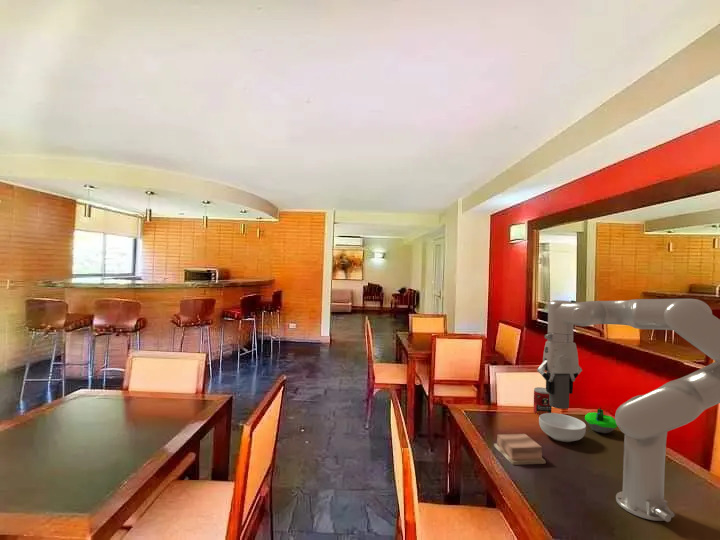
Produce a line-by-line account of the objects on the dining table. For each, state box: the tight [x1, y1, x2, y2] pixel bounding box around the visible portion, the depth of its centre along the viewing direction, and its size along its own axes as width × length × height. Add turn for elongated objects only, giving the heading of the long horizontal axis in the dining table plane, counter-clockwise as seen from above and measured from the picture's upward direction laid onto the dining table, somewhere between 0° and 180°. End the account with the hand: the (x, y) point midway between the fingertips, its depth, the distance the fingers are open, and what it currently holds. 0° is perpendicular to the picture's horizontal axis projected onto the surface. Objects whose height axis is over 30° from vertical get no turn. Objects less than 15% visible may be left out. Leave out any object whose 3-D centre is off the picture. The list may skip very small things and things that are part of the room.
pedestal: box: [493, 433, 547, 466], centre depth 142 cm, size 14×12×5 cm
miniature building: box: [584, 407, 618, 434], centre depth 164 cm, size 12×12×11 cm
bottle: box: [549, 374, 570, 410], centre depth 129 cm, size 6×6×15 cm
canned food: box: [533, 386, 553, 416], centre depth 184 cm, size 8×8×11 cm
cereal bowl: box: [538, 412, 587, 443], centre depth 157 cm, size 17×17×7 cm
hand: (559, 392), depth 129 cm, fingers closed on bottle, 5 cm apart
